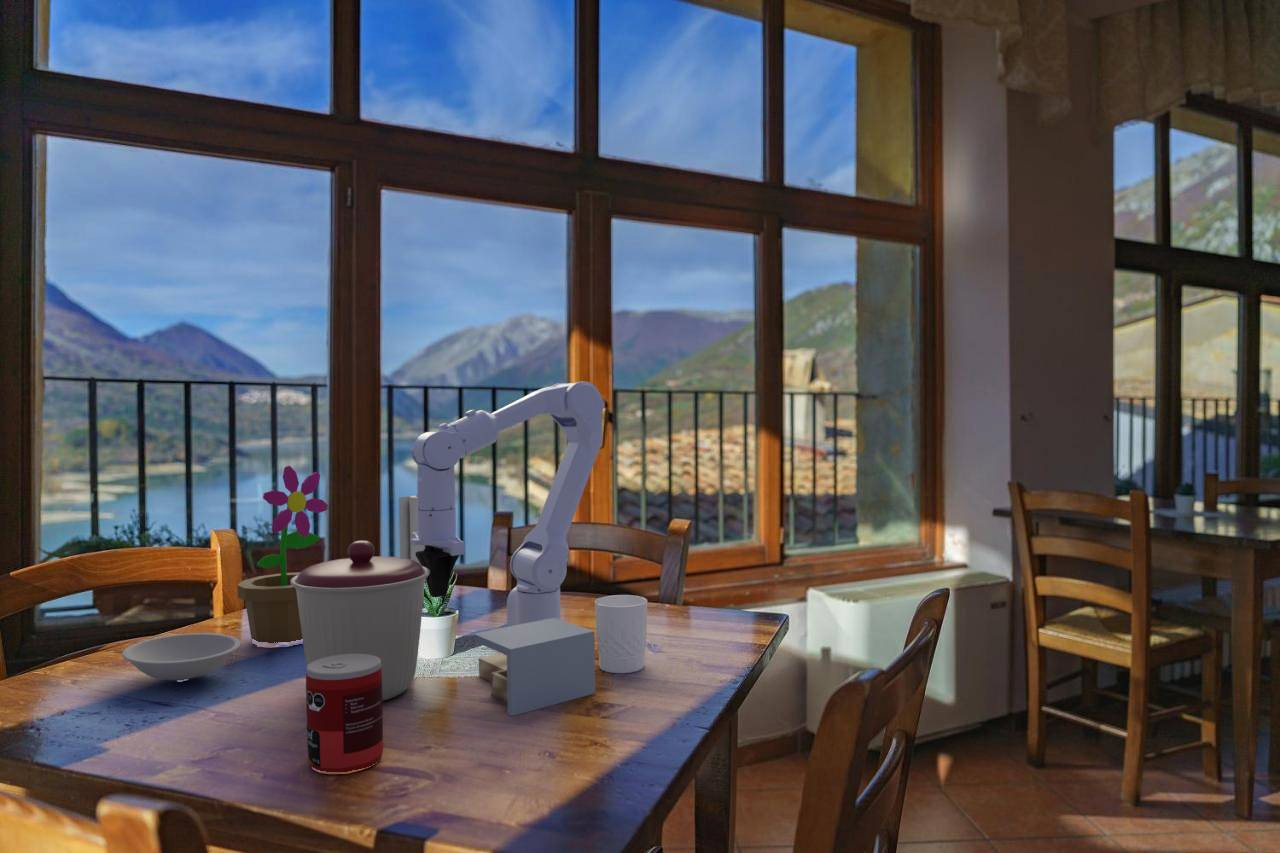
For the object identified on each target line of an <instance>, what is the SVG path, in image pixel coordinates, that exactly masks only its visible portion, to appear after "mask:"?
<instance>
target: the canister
mask: <svg viewBox="0 0 1280 853" xmlns="http://www.w3.org/2000/svg"><path fill="white" fill-rule="evenodd" d="M375 550H376V548H375V545H373V543H372V542H370V541H369V540H356V541H353V542H352V543H350V545H349V546H348V548H347V555H348V558H347V557H346V558H340V559H339V558H338V559H334V560H333V559H332V560H328V561H324V562H319V563H316V564H313V565H310V566H308V567H305V568H304V569H303V570H302V571H300V572H301V573H300V574H299V575H296V576H294V577H293V578H292V579H291V580H290V583H291V585H292V586H293V587H294V588H296V592H297V600H298V609H299V616H300V623H301V630H302V638H303V650H304V657H305V661H306V662H305V664H306V667H307V666H308V664H310V663H312V662H314V661H316V660H318V659H321V658H325V657H329V656H334V655H342V654H368V655H373V656H376V657H378V658H380V659H381V666H382V702H384V701H387V700H390V699H393V698H396V697H397V696H399V695H401V694H402V693H404V692H406V691H407V689H408V688H409V687H410V686H411V684H412V682H413V680H414V678H415V674H416V668H417V664H418V654H419V645H420V636H421V626H422V616H423V615H422V614H423V605H424V600H423V596H424V583H425V579H426V578H427V577H428V576H429V573H430V571H429V569H428V568H426V567H424V566H421V565H420V564H419V563H418V562H416V561H413V560H410V559H406V558H400V556H399V557H397V556H380V555H379V556H374V555H375V552H376V551H375Z"/></svg>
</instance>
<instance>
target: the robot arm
mask: <svg viewBox="0 0 1280 853" xmlns="http://www.w3.org/2000/svg"><path fill="white" fill-rule="evenodd" d="M605 406H606V405H605V401H604V400H603V397H602V396H601V393H600V392H599V390H598V388H597V387H596V385H594V384H593V383H592V382H588V381H585V380H584V381H577V382H570V383H567V382H566V383H564V382H560V383H559V382H557V383H555V384H553V385H551V386H546V387H543V388H539V389H538V390H534V391H533V392H530V393H529V394H527V395H525V396H522V397H521V398H519V399H518V400H515V401H513V402H511V403H510V404H507V405H506V406H503V407H501V408H499V409H498V410H496V411H493V412H492V413H489V412H488V411H484V410H482V409H480V410H477V411H476V410H475V409H470V410H468V411H466V412H464V415H465V416H464V417H462V418H460V419H459V418H458V420H454V421H452V422H449V423H446V422H444V423H443V422H442V423H441V424H439V425H438V428H439V430H438V431H425V432H423V433H422V434H421V435H419V436H418V437H417V438H416V440H415V441H414V444H413V445H412V449H411V450H410V455H411V458H412V460H413V461H414V463H415V464H416V465H417V481H416V484H417V487H416V488H417V489H416V490H417V491H416V492H417V494H416V495H418V532H415V533H412V539H411V543H412V545H422V546H425V549H424V551H418V552H416V557H417V559H418V560H419V562H420V564H421V566H424V567H426V568H428V569H429V571H430V573H429V576H428V577H427V578H426V581H427V585H428V589H429V593H430V596H432V597H438V598H440V597H445V596H447V593H448V589H449V584H450V580H451V576H452V573H453V569H454V567H455V565H456V563H457V561H458V559H459V557H460V555H461V556H463V555H465V554H466V548H465V547H466V546H465V545H466V544H465V541H463V540H461V538H459V537H458V535H457V526H456V525H457V519H456V518H457V517H456V515H457V514H456V479H455V477H456V476H455V466H456V464H458V462H459V460H460V459H463V458H465V457H468V456H470V455H472V454H474V453H475V452H478V451H480V450H482V449H485V448H486V447H488V446H490V445H492V444H495V443H496V442H497V440H498V438H499V435H500V432H502V431H504V430H507V429H509V428H512V427H513V426H516V425H518V424H521V423H524V422H525V421H528V420H530V419H533V418H535V417H537V416H539V415H550V416H551V418H552V419H553V420H554V421H555V423H556V424H558V425H559V427H561V429H562V431H563V433H564V434H565V436H566V439H567V441H568V443H567V445H566V449H565V451H564V453H563V456H562V458H561V461H560V464H559V465H558V466H559V467H558V469H557V471H556V474H555V476H554V479H553V481H552V483H551V487H550V489H549V491H548V494H547V497H546V499H545V501H544V504H543V506H542V510H541V513H540V515H539V518H538V519H537V523H536V525H535V527H534V528H533V529H531V531H529V532H528V533H527V534H526V535H525V536H524V539H523V541H522V543H521V545H519V547H518V548H517V549H516V550H515V551H514V552H513V554H512V555H511V558H510V562H509V568H510V572H511V574H512V576H513V577H514V578H515V579H516V586H515V587H514V588H513V589H511V591H510V592H509V594H508V596H507V600H506V623H507V624H506V627H509V626H514V625H519V624H524V623H529V622H535V621H540V620H545V619H550V618H556V619H559V620H562V619H561V585H562V583H563V582H564V580H565V578H566V576H567V562H568V561H567V559H568V557H569V554H570V548H569V544H568V542H567V535H568V533H569V531H570V528H571V525H572V522H573V520H574V517H575V514H576V512H577V510H578V506H579V504H580V501H581V499H582V497H583V494H584V490H585V488H586V486H587V483H588V480H589V478H590V475H591V472H592V470H593V467H594V466H595V463H596V462H595V461H596V460H597V457H598V454H599V452H600V449H601V446H602V443H603V423H602V422H603V421H602V413H603V411H604V408H605Z"/></svg>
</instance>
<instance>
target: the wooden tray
mask: <svg viewBox="0 0 1280 853" xmlns="http://www.w3.org/2000/svg"><path fill="white" fill-rule="evenodd" d="M478 676H479V677H481V678H483V679H485V680H487V681H489V682H490V695H491V696H492V697H495V698H497V699H499V700H501V701H502V702H505V703H507V704H508V696H507V655H505V654H502V653H500V652H498V653H496V654H491V655H486V656H481V657H478Z"/></svg>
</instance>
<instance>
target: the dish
mask: <svg viewBox="0 0 1280 853" xmlns="http://www.w3.org/2000/svg"><path fill="white" fill-rule="evenodd" d="M240 647H241V641H240V639H238V638H237V637H235V636H232V635H227V634H222V633H215V632H214V633H212V632H210V633H209V632H194V633H193V632H192V633H191V632H190V633H178V634H171V635H164V636H157V637H153V638H148V639H144V640H142V641H137V642H136V643H133V644H131V645H129V646H127V647H125V648H124V649H123V651H122V653H121V655H122V659H124V660H125V661H127V662H130V664H132V666H134V667H135V668H136V669H137V670H138V671H140V672H142V673H143V674H145V675H147V676H149V677H151V678H154V679H158V680H165V681H176V680H184V679H190V680H191V679H195V678H199V677H202V676H205V675H208V674H210V673H212V672H214V671H215V670H216V669H218V668H219V667H221V666H222V665H223V664H224V663H225V662H226V661H227V660H228V659H229V658H230V657H231V655H232V654H233V653H234V652H235V651H237V650H238V649H239V648H240Z"/></svg>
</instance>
